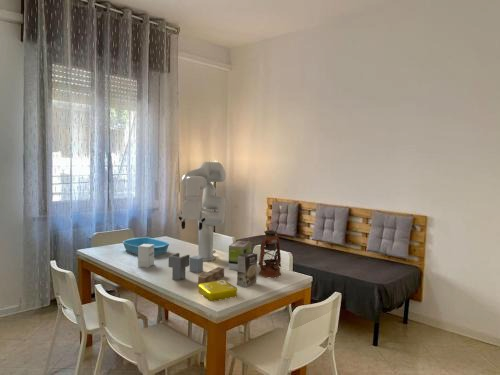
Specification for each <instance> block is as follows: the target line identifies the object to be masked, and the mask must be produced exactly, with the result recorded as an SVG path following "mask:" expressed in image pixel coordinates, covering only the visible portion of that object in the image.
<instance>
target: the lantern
mask: <svg viewBox="0 0 500 375" xmlns="http://www.w3.org/2000/svg"><path fill="white" fill-rule="evenodd" d="M270 225H273V223H272V222H270V223H269V224H268V227H267V230H264V231H263V233H264V234H265V235H264V238H263V240H262V242H261V244H260V253H259V254H260V255H259V258H258V262H257V266H259V268H260V271H259V273H258V275H259V276H260V277H263V278H267V277H271V278H270V279H274V278H275V277H276V278H280V277H282V273H281V268H282V264H281V262H282V260H281V259H282V257H281V249H280V248H281V247H280V246H281V245H280V238H279V237H278V236H277V231H275V230H274V229H271V230H270V229H269V226H270ZM265 250H266V251H265ZM270 252H273V254H272V253H270ZM265 255H267V257H269V259H265ZM268 255H270V256H271V257H270V256H268ZM279 276H280V277H279Z"/></svg>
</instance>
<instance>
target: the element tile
mask: <svg viewBox="0 0 500 375" xmlns="http://www.w3.org/2000/svg"><path fill="white" fill-rule="evenodd" d="M198 294H199V295H201V296H202V295H203V298H204V299H206V298H207V299H208V300H207V299H206V300H207V301H209V300H210V301H209V302H215V301H214V300H217V301H220V300H219V299H222V300H226V299H225V298H227V299H231V298H230V297H232V298H235V296H236V297H238V296H237V294H238V288H237V287H236V286H235V285H233V284H232V283H229V282H228V281H226V280H225V279H218V280H216V281H213V282H207V283H202V284H199V286H198Z"/></svg>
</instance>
